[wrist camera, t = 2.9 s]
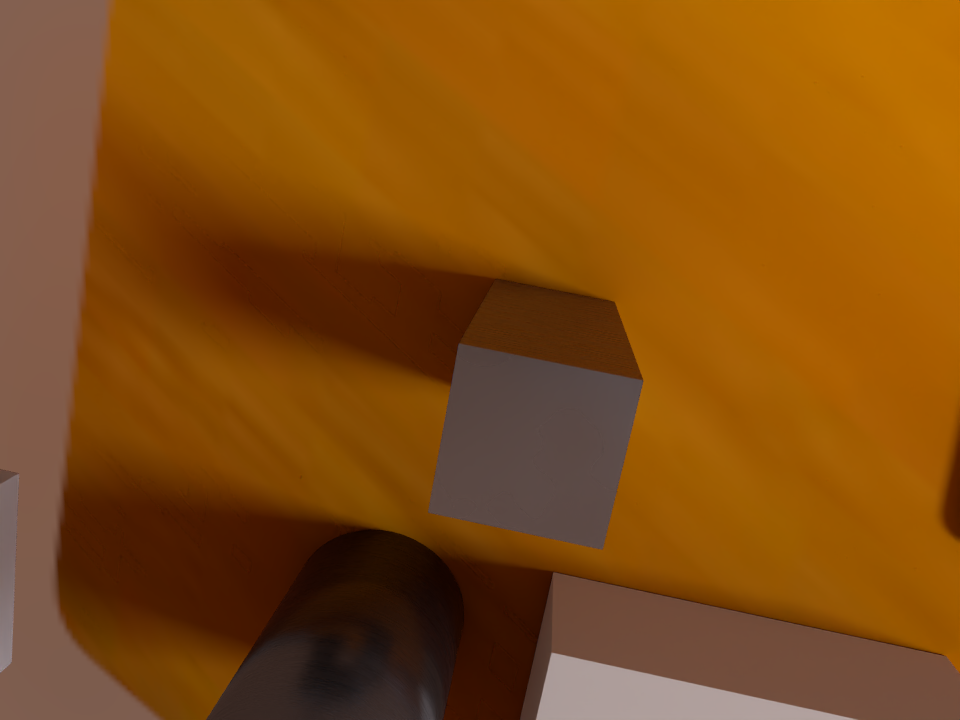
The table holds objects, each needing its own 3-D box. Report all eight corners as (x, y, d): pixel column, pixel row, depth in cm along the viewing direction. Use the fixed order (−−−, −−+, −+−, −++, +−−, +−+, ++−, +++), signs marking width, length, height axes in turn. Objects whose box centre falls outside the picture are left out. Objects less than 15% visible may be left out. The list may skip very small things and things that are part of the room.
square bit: (495, 278, 27) (458, 343, 18) (614, 302, 27) (643, 380, 17) (474, 392, 28) (428, 512, 19) (588, 415, 28) (602, 549, 18)
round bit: (306, 513, 30) (184, 681, 20) (478, 550, 30) (437, 738, 20) (285, 664, 32) (162, 887, 22) (447, 701, 31) (396, 942, 22)
